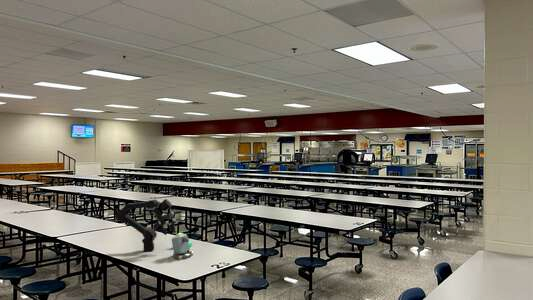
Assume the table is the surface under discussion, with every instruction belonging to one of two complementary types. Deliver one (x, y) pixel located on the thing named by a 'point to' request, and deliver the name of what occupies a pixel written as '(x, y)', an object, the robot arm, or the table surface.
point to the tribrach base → (183, 255)
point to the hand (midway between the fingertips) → (170, 233)
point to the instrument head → (180, 243)
